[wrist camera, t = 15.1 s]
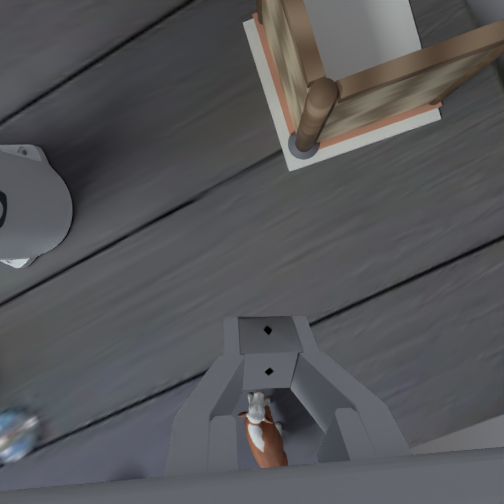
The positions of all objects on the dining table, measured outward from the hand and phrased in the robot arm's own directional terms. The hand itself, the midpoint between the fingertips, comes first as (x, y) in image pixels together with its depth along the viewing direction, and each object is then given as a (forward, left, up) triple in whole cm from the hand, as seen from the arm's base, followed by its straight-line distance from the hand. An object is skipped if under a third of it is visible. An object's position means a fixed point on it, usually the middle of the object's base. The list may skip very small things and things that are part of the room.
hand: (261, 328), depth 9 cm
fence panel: (+10, +21, -27) cm, 36 cm away
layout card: (+4, +27, -28) cm, 39 cm away
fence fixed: (-3, +24, -28) cm, 37 cm away
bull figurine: (+5, -23, -28) cm, 37 cm away
